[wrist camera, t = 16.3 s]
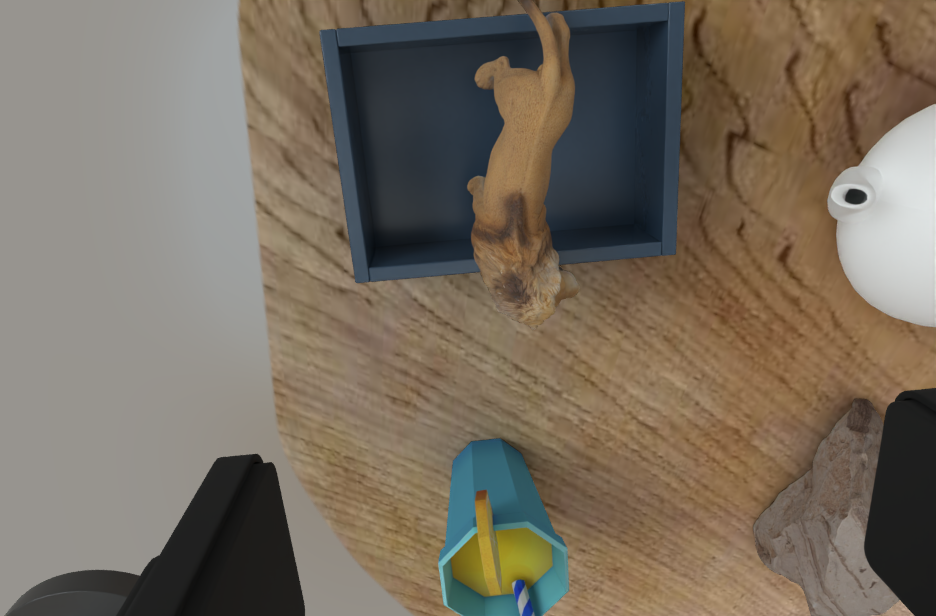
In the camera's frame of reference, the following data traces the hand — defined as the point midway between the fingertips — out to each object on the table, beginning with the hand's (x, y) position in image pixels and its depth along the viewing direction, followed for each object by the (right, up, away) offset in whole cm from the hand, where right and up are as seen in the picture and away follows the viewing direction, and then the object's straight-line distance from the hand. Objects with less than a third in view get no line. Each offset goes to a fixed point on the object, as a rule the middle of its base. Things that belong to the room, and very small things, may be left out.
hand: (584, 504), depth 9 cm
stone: (+24, -10, +37) cm, 46 cm away
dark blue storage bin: (0, +13, +28) cm, 31 cm away
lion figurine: (+1, +12, +24) cm, 27 cm away
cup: (0, -9, +36) cm, 37 cm away
